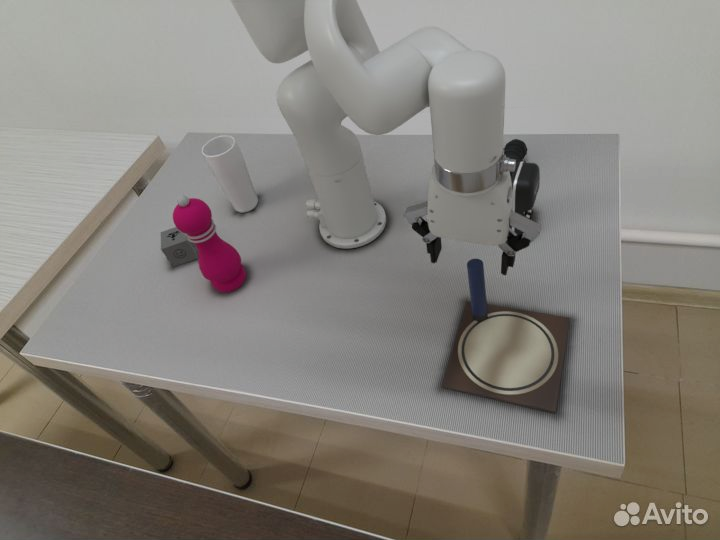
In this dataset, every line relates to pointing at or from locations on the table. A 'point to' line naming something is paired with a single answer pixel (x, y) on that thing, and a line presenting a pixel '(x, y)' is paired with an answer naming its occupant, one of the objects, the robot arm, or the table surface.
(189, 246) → the grey toy cube
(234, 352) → the table surface
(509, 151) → the flashlight
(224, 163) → the drinking glass
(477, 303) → the cylinder
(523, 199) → the battery charger
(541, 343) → the brown square board
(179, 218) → the pepper mill
